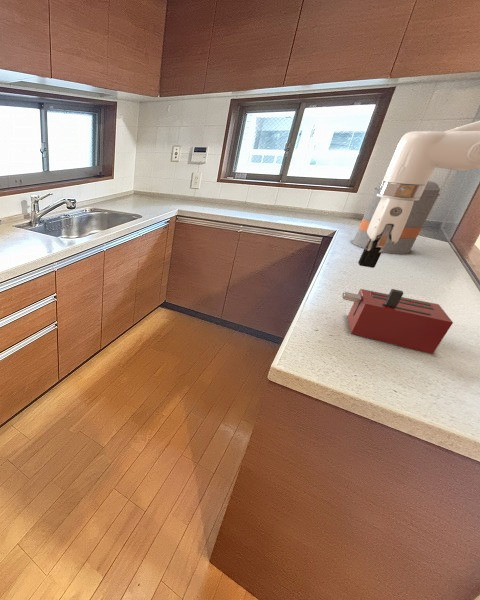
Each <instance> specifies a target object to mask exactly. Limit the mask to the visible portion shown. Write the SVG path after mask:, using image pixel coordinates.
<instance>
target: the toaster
mask: <svg viewBox="0 0 480 600" xmlns="http://www.w3.org/2000/svg"><path fill="white" fill-rule="evenodd" d="M357 294H358V295H360V296H361V301H360V303H358V302H353V304H352V305H351V308H350V310H349V313H348V315H347V322H348V326H349V331H350V334H351V335H354V336H355V335H356V336H359V337H362V338H367V339H370V340H374V341H379V342H382V343H386V344H390V345H394V346H398V347H402V348H406V349H410V350H414V351H418V352H422V353H426V354H430V355H433V354H434V353H435V352H436V350H437V348H438V347H439V345H440V344H441V342H442V341H443V339H444V337H445V336H446V334H447V333H448V331H450V328H451V327H452V326H453V323H454V322H453V320H452V319H451V318H450V317H449V315H448V314H447V313H446V311H445V310H444V309H443V307H442V306H441V305H440V304H439V303H434V302H429V301H425V300H419V299H415V298H409V297H404V296H402V297H401V299H400V301H399V303H398V305H397V306H396V308H395V307H390V306H386V305H385V301H386V299H387V297H388V295H389V293H384V292H379V291H374V290H369V289H364V288H360V289H359V291H358V293H357Z"/></svg>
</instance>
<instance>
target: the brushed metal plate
mask: <svg viewBox="0 0 480 600" xmlns="http://www.w3.org/2000/svg"><path fill="white" fill-rule="evenodd" d="M341 297H342V300H343V301H348V302H353V303H354V302H358V303H360V301H361V296H360V295H358V293H353V292H348V291H343V292H342V296H341Z"/></svg>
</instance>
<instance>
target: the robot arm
mask: <svg viewBox="0 0 480 600" xmlns="http://www.w3.org/2000/svg"><path fill="white" fill-rule="evenodd" d="M435 169H444V170H445V169H447V170H452V171H473V170H477V169H480V120H477V121H474V122H471V123H467V124H464V125H461V126H457V127H454V128H451V129H448V130H445V131H441V130H413V131H408V132H406V133H405V134H404V135H402V136H401V138H400V140H399V142H398V144H397V146H396V148H395V151H394V153H393V155H392V159H391V161H390V163H389V165H388V167H387V170H386V173H385V174H384V177H383V180H382V181H383V182H382V181H381V182H382V184H381V186H380V189H379V191H378V193H377V196H379V197H382V198H381V200H380V202H379V203H378V206H377V208H376V210H375V212H374V215H373V217H372V219H371V222H370V224H369V227H368V229H367V234H368V236H369V240H368V242H367V244H366V247H365V248H363V250H362V253H361V255H360V257H359V260H358V262H357V264H358V265H359V266H360V267H364V268H365V267H367V268H372V269H374V268H375V267H376V265H377V263H378V261H379V259H380V257H381V256H382V253H383V252H382V250H383V248H384V246H385V245H386V243H387V241H388V239H389V240H390V241H391V243H393V244H395V243H397V242H398V240H399V238H400V236H401V233H402V231H403V229H404V226H405V224H406V222H407V219H408V217H409V214H410V212H411V209H412V206H413V203H414V201H415V200H419V199H420V197H421V195H422V193H423V191H424V189H425V187H426V184H427V182H428V181H430V178H431V176H432V174H433V172H434V170H435Z"/></svg>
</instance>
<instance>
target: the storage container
mask: <svg viewBox="0 0 480 600" xmlns="http://www.w3.org/2000/svg"><path fill="white" fill-rule="evenodd" d="M382 182H383V180H382V181H380V182H378V184H377V186H376V187H374V188H373V194H372V195H371V198H370V200H369V203H368V205H367V206H366V207H367V208H366V210H365V212H364V214H363V218H362V219H361V222H360V224H359V226H358V229H357V231H356V233H355V236H354V238H353V239H352V244H353V245H354V246H357V247H359V248H363V249H365V247H366V244H367V242H368V240H369V236H368V234H367V229H368V227H369V224H370V222H371V219H372V217H373V215H374V212H375V210H376V208H377V206H378V203H379V202H380V200H381V198H382V197H379V196H377V193H378V191H379V189H380V186H381V184H382ZM440 191H441V188H440V187H439V184H438V183H437V182H436V181H431V180H428V182H427V184H426V187H425V189H424V191H423V193H422V195H421V197H420V199H419V200H415V201H414V203H413V206H412V209H411V212H410V214H409V217H408V219H407V222H406V224H405V226H404V229H403V231H402V233H401V236H400V238H399V240H398V242H397V243H395V244H393V243H391V241H390V240H389V239H388V241H387V243H386V245H385V246H384V248H383V250H382V252H381V253H384V254H385V253H386V254H394V255H406V254H407V255H408V254H409V253H411V251H412V248H413V246H414V245H415V242H416V240H417V238H418V236H419V235H420V232H421V230H422V229H423V226H424V225H425V223H426V221H427V219H428V217H429V215H430V213H431V211H432V209H433V207H434V205H435V203H436V201H437V199H438V197H440V196H441V194H440Z"/></svg>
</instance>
